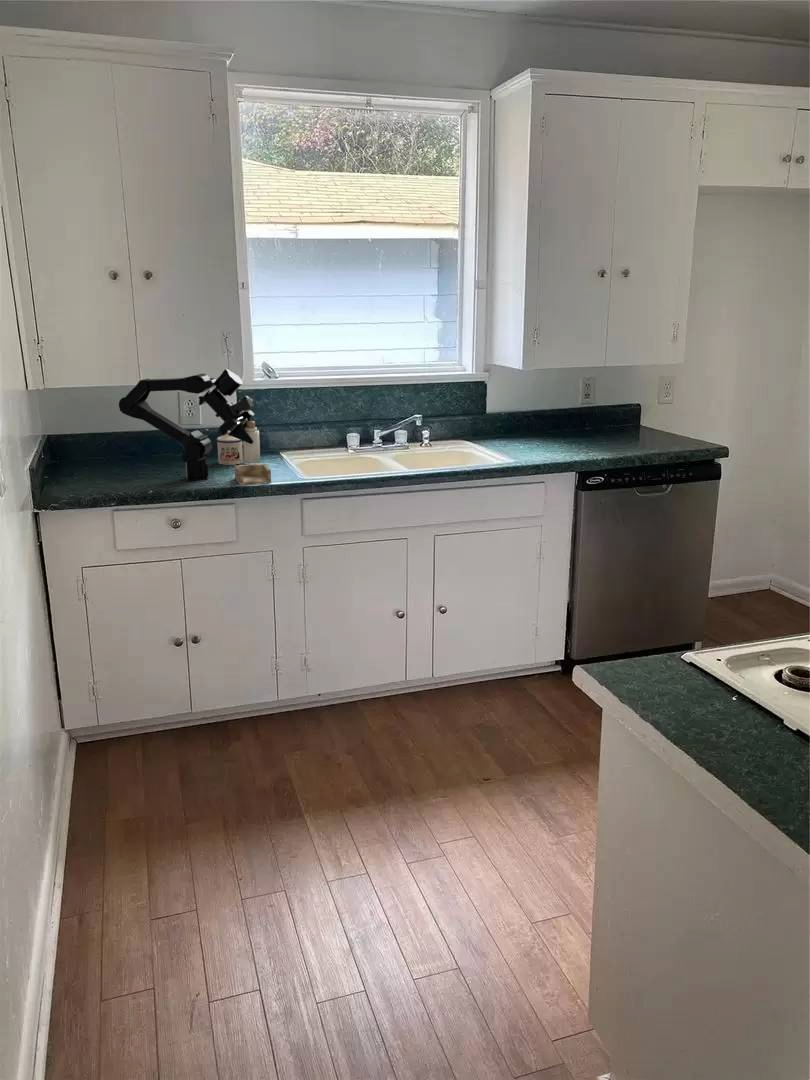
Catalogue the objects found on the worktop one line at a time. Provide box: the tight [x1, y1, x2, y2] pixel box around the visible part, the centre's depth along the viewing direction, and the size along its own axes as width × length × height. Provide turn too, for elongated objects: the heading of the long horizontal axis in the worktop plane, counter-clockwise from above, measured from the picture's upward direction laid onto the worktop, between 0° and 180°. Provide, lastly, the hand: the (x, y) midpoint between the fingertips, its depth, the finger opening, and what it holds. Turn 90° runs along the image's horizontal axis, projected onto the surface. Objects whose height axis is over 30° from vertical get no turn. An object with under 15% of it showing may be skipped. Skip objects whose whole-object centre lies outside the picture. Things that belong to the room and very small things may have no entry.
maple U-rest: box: [234, 463, 272, 486], centre depth 273 cm, size 10×10×4 cm
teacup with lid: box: [216, 431, 244, 466], centre depth 298 cm, size 12×9×12 cm
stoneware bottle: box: [242, 420, 261, 464], centre depth 269 cm, size 5×5×13 cm
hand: (255, 441), depth 269 cm, fingers closed on stoneware bottle, 5 cm apart
